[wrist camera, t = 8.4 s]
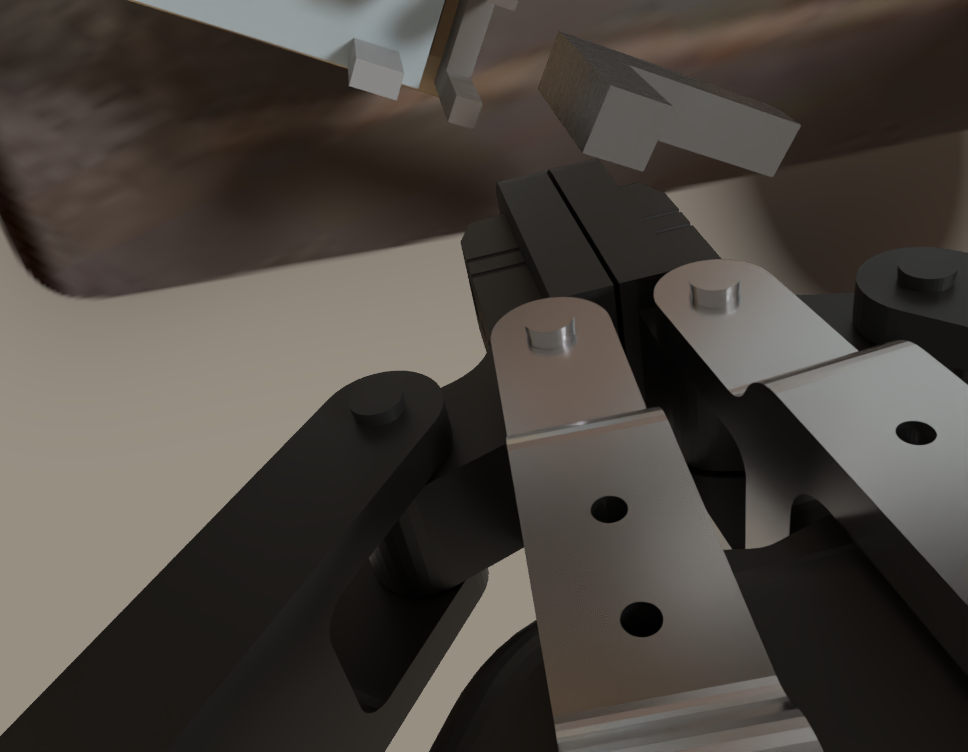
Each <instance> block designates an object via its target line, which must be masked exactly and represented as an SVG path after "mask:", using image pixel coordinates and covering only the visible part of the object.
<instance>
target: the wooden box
mask: <svg viewBox="0 0 968 752" xmlns="http://www.w3.org/2000/svg"><path fill="white" fill-rule="evenodd" d="M128 1H132V2H135V3H138V4H141V5H144V6H148V7H151V8H154V9H157V10H160V11H164V12H167V13H170V14H173V15H176V16H180V17H183V18H186V19H189V20H193V21H196V22H199V23H202V24H205V25H209V26H212V27H215V28H218V29H221V30H225V31H228V32H231V33H234V34H237V35H241V36H244V37H247V38H250V39H254V40H257V41H260V42H263V43H266V44H270V45H273V46H276V47H279V48H282V49H286V50H289V51H292V52H295V53H299V54H302V55H305V56H308V57H311V58H315V59H318V60H321V61H324V62H327V63H331V64H334V65H337V66H340V67H343V68H347V69H348V67H346V66H343V65H339V64H336V63H333V62H330V61H327V60H323V59H320V58H317V57H314V56H311V55H307V54H304V53H301V52H298V51H295V50H291V49H288V48H285V47H282V46H279V45H275V44H272V43H269V42H266V41H263V40H259V39H256V38H253V37H250V36H246V35H243V34H240V33H237V32H234V31H230V30H227V29H224V28H221V27H218V26H214V25H211V24H208V23H205V22H202V21H198V20H195V19H192V18H189V17H186V16H182V15H179V14H176V13H173V12H170V11H166V10H163V9H160V8H157V7H154V6H150V5H147V4H144V3H141V2H138V1H134V0H128ZM517 3H518V0H445V2H444V5H443V8H442V12H441V15H440V18H439V22H438V25H437V28H436V32H435V35H434V38H433V42H432V45H431V48H430V52H429V55H428V58H427V62H426V65H425V68H424V71H423V75H422V78H421V81H420V85H419V88H418V89H416V88H413V87H410V86H407V85H404V84H401V86H405V87H408V88H411V89H414V90H417V91H421V92H424V93H427V94H430V95H433V96H437V97H439V98H440V101H441V104H442V107H443V109H444V112H445V115H446V118H447V121H448V122H450V123H453V124H456V125H460V126H463V127H466V128H469V129H473V130H474V128H475V125H476V122H477V119H478V116H479V113H480V110H481V108H482V105H483V103H482V101H481V99H480V96H479V94H478V92H477V90H476V88H475V86H474V84H473V82H472V80H471V75H472V72H473V69H474V66H475V63H476V60H477V57H478V54H479V51H480V48H481V45H482V42H483V39H484V36H485V33H486V30H487V27H488V24H489V21H490V18H491V15H492V12H493V9H494V6H495V5H498V6H500V7H503V8H506V9H509V10H512V11H515V8H516V6H517Z"/></svg>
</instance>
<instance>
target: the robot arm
mask: <svg viewBox="0 0 968 752" xmlns="http://www.w3.org/2000/svg"><path fill="white" fill-rule="evenodd" d="M496 191H497V199H498V204H499V210H500V216H496V217H492V218H488V219H484V220H479V221H475V222H471V223H469V225H468V227H467V229H466V232H465V234H464V236H463V238H462V240H461V246H462V250H463V255H464V259H465V264H466V269H467V273H468V278H469V283H470V287H471V292H472V297H473V301H474V306H475V310H476V315H477V320H478V325H479V329H480V332H481V336H482V339H483V342H484V345H485V348H486V352H487V353H486V355H485V357H484V358H483V360H482V361H481V362H480V363H479V364H478V365H477V366H476V367H475V368H474V369H473V370H472V371H470V372H469V373H467V374H466V375H464V376H463V377H462V378H460V379H458V380H456V381H454V382H452V383H450V384H448V385H446V386H444V387H442V388H440V387H439V386H438V384H437V383H436V382H435V381H434V380H432V379H431V378H429V377H427V376H425V375H423V374H419V373H416V372H409V371H389V372H382V373H377V374H373V375H370V376H366V377H363V378H361V379H358V380H356V381H354V382H352V383H350V384H349V385H346V386H345V387H343V388H342V389H340V390H339V391H337V392H336V393H335V394H334V395H333V396H332V397H330V398H329V399H328V400H327V402H325V403H324V405H322V407H321V408H320V409H319V410H318V411H317V412H316V413H315V414H314V415H313V416H312V417H311V418H310V419H309V420H308V421H307V422H306V423H305V424H304V425H303V426H302V427H301V428H300V429H299V430H298V431H297V432H296V433H295V434H294V435H293V436H292V437H291V438H290V439H289V440H288V441H287V442H286V443H285V444H284V446H283V447H282V448H281V449H280V450H279V451H278V452H277V453H276V454H275V455H274V456H273V457H272V458H271V459H270V460H269V461H268V462H267V463H266V464H265V465H264V466H263V467H262V468H261V469H260V470H259V471H258V472H257V473H256V474H255V475H254V476H253V477H252V478H251V479H250V480H249V481H248V483H246V484H245V486H244V487H243V488H242V489H241V490H240V491H239V492H238V493H237V494H236V495H235V496H234V497H233V498H232V499H231V500H230V501H229V502H228V503H227V504H226V505H225V506H224V507H223V508H222V509H221V510H220V511H219V512H218V513H217V514H216V515H215V516H214V517H213V518H212V519H211V521H209V522H208V523H207V525H206V526H205V527H204V528H203V529H202V530H201V531H200V532H199V533H198V534H197V535H196V536H195V537H194V538H193V539H192V540H191V541H190V542H189V543H188V544H187V545H186V546H185V547H184V548H183V549H182V550H181V551H180V552H179V553H178V554H177V555H176V557H174V558H173V559H172V560H171V562H169V564H168V565H167V566H166V567H165V568H164V569H163V570H162V571H161V572H160V573H159V574H158V575H157V576H156V577H155V578H154V579H153V580H152V581H151V582H150V583H149V584H148V585H147V586H146V587H145V588H144V589H143V590H142V591H141V592H140V593H139V594H138V595H137V597H135V598H134V599H133V600H132V602H131V603H130V604H129V605H128V606H127V607H126V608H125V609H124V610H123V611H122V612H121V613H120V614H119V615H118V616H117V617H116V618H115V619H114V620H113V621H112V622H111V623H110V624H109V625H108V626H107V627H106V628H105V629H104V630H103V631H102V632H101V633H100V634H99V635H98V637H96V638H95V639H94V640H93V642H92V643H91V644H90V645H89V646H88V647H87V648H86V649H85V650H84V651H83V652H82V653H81V654H80V655H79V656H78V657H77V658H76V659H75V660H74V661H73V662H72V663H71V664H70V665H69V666H68V667H67V668H66V669H65V670H64V671H63V672H62V673H61V674H60V675H59V676H58V677H57V679H55V681H54V682H53V683H52V684H51V685H50V686H49V687H48V688H47V689H46V690H45V691H44V692H43V693H42V694H41V695H40V696H39V697H38V698H37V699H36V700H35V701H34V702H33V703H32V704H31V705H30V706H29V707H28V708H27V709H26V710H25V711H24V712H23V714H21V715H20V716H19V718H18V719H17V720H16V721H15V722H14V723H13V724H12V725H11V726H10V727H9V728H8V729H7V730H6V731H5V732H4V733H3V734H2V735H1V736H0V752H385V750H386V749H387V747H388V745H389V744H390V742H391V741H392V739H393V738H394V736H395V734H396V733H397V731H398V729H399V728H400V726H401V725H402V723H403V721H404V720H405V718H406V717H407V715H408V713H409V712H410V710H411V709H412V707H413V705H414V704H415V702H416V700H417V699H418V697H419V696H420V694H421V693H422V691H423V689H424V688H425V686H426V685H427V683H428V681H429V680H430V678H431V676H432V675H433V673H434V672H435V670H436V668H437V667H438V665H439V664H440V662H441V660H442V659H443V657H444V656H445V654H446V652H447V651H448V649H449V648H450V646H451V644H452V643H453V641H454V640H455V638H456V636H457V635H458V633H459V631H460V630H461V628H462V627H463V625H464V624H465V622H466V620H467V618H468V617H469V616H470V614H471V612H472V611H473V609H474V607H475V606H476V604H477V603H478V601H479V600H480V598H481V596H482V594H483V592H484V591H485V588H486V586H487V582H488V574H489V572H488V567H490V566H492V565H493V564H495V563H497V562H499V561H500V560H502V559H504V558H506V557H508V556H509V555H511V554H513V553H515V552H516V551H518V550H520V549H522V548H525V554H526V559H527V565H528V572H529V578H530V583H531V590H532V596H533V601H534V607H535V613H536V619H537V620H535V621H534V622H532V623H531V624H529V625H528V626H526V627H525V628H523V629H522V630H520V631H519V632H517V633H516V634H515V635H514V636H512V637H511V638H510V639H509V640H508V641H507V642H505V643H504V644H503V645H502V646H501V647H500V648H498V649H497V650H496V651H495V653H493V655H492V656H491V657H490V658H489V659H488V660H487V661H486V662H485V663H484V664H483V665H482V666H481V667H480V669H479V670H478V671H477V672H476V674H475V675H474V676H473V678H472V679H471V681H470V682H469V683H468V685H467V686H466V687H465V689H464V690H463V692H462V693H461V695H460V696H459V698H458V700H457V701H456V703H455V705H454V707H453V708H452V710H451V712H450V714H449V716H448V717H447V719H446V721H445V723H444V725H443V727H442V729H441V731H440V732H439V734H438V736H437V738H436V740H435V741H434V743H433V745H432V747H431V749H430V751H429V752H968V253H965V252H960V251H955V250H950V249H943V248H934V247H909V248H901V249H895V250H890V251H887V252H883V253H881V254H878V255H876V256H874V257H872V258H870V259H868V260H867V261H866V262H864V263H863V264H862V265H861V266H860V268H859V269H858V271H857V275H856V284H855V293H842V294H841V293H839V294H819V295H794V294H793V293H792V292H791V291H790V290H789V289H788V288H786V287H785V286H784V285H783V284H782V283H781V282H780V281H779V280H777V279H776V278H775V277H774V276H773V275H772V274H771V273H769V272H768V271H767V270H765V269H763V268H761V267H759V266H757V265H754V264H751V263H748V262H743V261H738V260H729V259H728V260H727V259H726V260H725V259H721V258H720V257H719V255H718V254H717V253H716V252H715V251H714V250H713V248H712V247H711V246H710V245H709V244H708V243H707V242H706V240H705V239H704V238H703V237H702V236H701V235H700V233H699V232H698V231H697V230H696V229H695V228H694V226H690V222H689V221H688V219H687V218H686V217H685V216H684V215H683V214H682V212H680V213H679V209H678V208H677V207H676V205H674V203H673V202H672V201H671V200H670V198H668V196H667V195H666V194H665V193H664V192H661V191H659V190H656V189H654V188H651V187H649V186H647V185H644V184H642V183H639V182H638V183H634V184H630V185H626V186H622V187H619V186H618V185H617V183H616V182H615V181H614V180H613V178H612V177H611V176H610V174H609V173H608V172H607V170H606V169H605V168H604V166H603V165H602V164H601V162H600V161H599V160H598V159H593V160H588V161H584V162H580V163H576V164H572V165H567V166H563V167H559V168H555V169H550V170H548V171H547V173H546V172H545V171H543V172H538V173H534V174H530V175H526V176H521V177H517V178H513V179H509V180H505V181H500V182H497V183H496Z"/></svg>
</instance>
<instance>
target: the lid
mask: <svg viewBox="0 0 968 752" xmlns="http://www.w3.org/2000/svg"><path fill="white" fill-rule="evenodd" d="M134 1H138V2H141V3H144V4H147V5H150V6H154V7H157V8H160V9H163V10H166V11H170V12H173V13H176V14H179V15H182V16H186V17H189V18H192V19H195V20H198V21H202V22H205V23H208V24H211V25H214V26H218V27H221V28H224V29H227V30H230V31H234V32H237V33H240V34H243V35H246V36H250V37H253V38H256V39H259V40H263V41H266V42H269V43H272V44H275V45H279V46H282V47H285V48H288V49H291V50H295V51H298V52H301V53H304V54H307V55H311V56H314V57H317V58H320V59H323V60H327V61H330V62H333V63H336V64H339V65H343V66H346V67H348V77H349V86H351V87H354V88H357V89H361V90H364V91H367V92H370V93H374V94H377V95H380V96H384V97H387V98H390V99H393V100H397V97H398V94H399V90H400V87H401V84H404V85H407V86H410V87H413V88H416V89H418V88H419V85H420V81H421V78H422V75H423V71H424V68H425V65H426V62H427V58H428V55H429V52H430V48H431V45H432V42H433V38H434V35H435V32H436V28H437V25H438V22H439V18H440V15H441V12H442V8H443V5H444V2H445V0H134Z"/></svg>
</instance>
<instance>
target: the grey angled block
mask: <svg viewBox="0 0 968 752" xmlns="http://www.w3.org/2000/svg"><path fill="white" fill-rule="evenodd" d="M538 89H539V91H540V92H541V94H542V95H543V97H544V98H545V100H546V101H547V102H548V104H549V105H550V107H551V108H552V110H553V111H554V113H555V114H556V115H557V117H558V118H559V120H560V121H561V123H562V124H563V126H564V127H565V128H566V130H567V131H568V133H569V134H570V136H571V137H572V139H573V140H574V141H575V143H576V144H577V146H578V147H579V149H580V150H581V152H582V153H584V154H587V155H590V156H594V157H597V158H600V159H603V160H607V161H610V162H613V163H616V164H620V165H623V166H626V167H630V168H633V169H636V170H639V171H644V169H645V167H646V165H647V163H648V161H649V158H650V156H651V154H652V152H653V150H654V148H655V145H656V143H657V141H661V142H664V143H667V144H670V145H673V146H676V147H679V148H683V149H686V150H689V151H692V152H695V153H698V154H701V155H704V156H707V157H711V158H714V159H717V160H720V161H723V162H726V163H729V164H732V165H735V166H738V167H742V168H745V169H748V170H751V171H754V172H757V173H760V174H763V175H767V176H770V177H773V176H774V174H775V173H776V171H777V169H778V167H779V165H780V163H781V162H782V160H783V158H784V156H785V154H786V152H787V151H788V149H789V147H790V145H791V143H792V141H793V140H794V138H795V136H796V134H797V132H798V130H799V128H800V127H801V124H799V123H798V122H796V121H795V120H794V119H792V118H791V117H789V116H788V115H787V114H785V113H784V112H782V111H781V110H780V109H778V108H777V107H774V106H771V105H768V104H765V103H763V102H760V101H757V100H754V99H751V98H748V97H746V96H743V95H740V94H737V93H734V92H731V91H729V90H726V89H723V88H720V87H717V86H714V85H712V84H709V83H706V82H703V81H700V80H697V79H695V78H692V77H689V76H686V75H683V74H680V73H677V72H675V71H672V70H669V69H666V68H663V67H660V66H658V65H655V64H652V63H649V62H646V61H643V60H641V59H638V58H635V57H632V56H629V55H626V54H624V53H621V52H618V51H615V50H612V49H609V48H607V47H604V46H601V45H598V44H595V43H592V42H590V41H587V40H584V39H581V38H578V37H575V36H573V35H570V34H567V33H564V32H561V31H559V33H558V35H557V38H556V41H555V43H554V46H553V49H552V51H551V54H550V57H549V59H548V62H547V65H546V67H545V70H544V73H543V75H542V78H541V81H540V84H539V86H538Z"/></svg>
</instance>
